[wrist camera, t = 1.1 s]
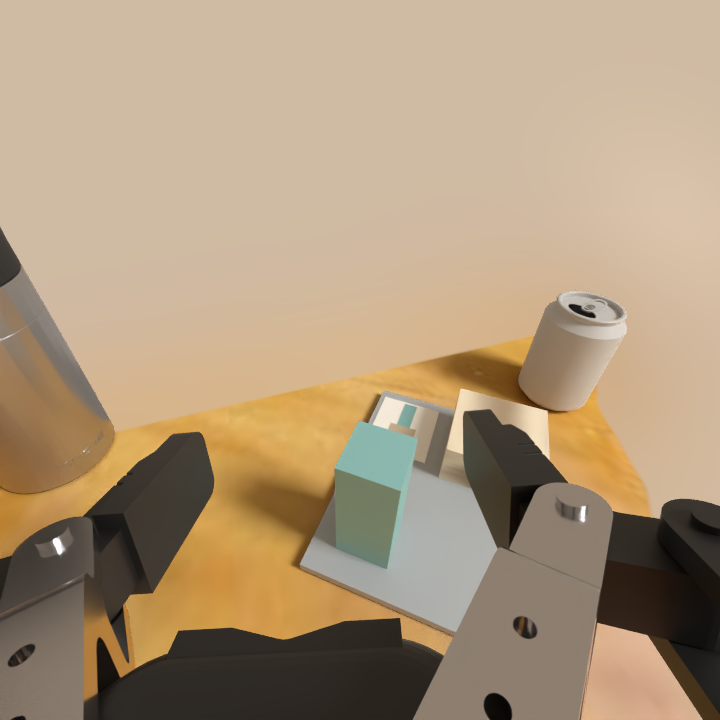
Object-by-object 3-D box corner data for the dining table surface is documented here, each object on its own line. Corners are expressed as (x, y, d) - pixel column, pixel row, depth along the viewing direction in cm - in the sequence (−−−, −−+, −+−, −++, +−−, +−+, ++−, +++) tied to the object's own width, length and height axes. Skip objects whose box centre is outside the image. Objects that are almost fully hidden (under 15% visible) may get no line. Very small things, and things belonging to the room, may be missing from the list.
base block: (438, 477, 32) (446, 449, 30) (453, 416, 38) (460, 388, 36) (533, 508, 30) (550, 481, 28) (533, 439, 36) (547, 410, 34)
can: (502, 380, 45) (534, 291, 37) (550, 367, 47) (589, 281, 39) (547, 423, 39) (595, 330, 32) (598, 407, 41) (654, 316, 34)
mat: (300, 569, 27) (299, 563, 26) (383, 395, 42) (384, 389, 41) (529, 669, 23) (534, 665, 22) (530, 437, 38) (533, 430, 37)
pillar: (336, 548, 27) (334, 468, 21) (355, 502, 30) (359, 420, 24) (386, 569, 26) (400, 491, 20) (401, 519, 29) (418, 438, 23)
